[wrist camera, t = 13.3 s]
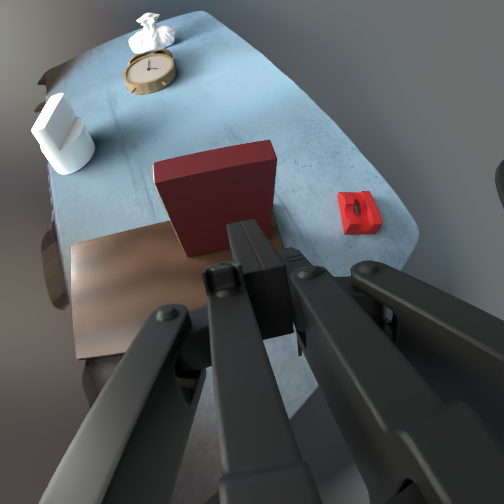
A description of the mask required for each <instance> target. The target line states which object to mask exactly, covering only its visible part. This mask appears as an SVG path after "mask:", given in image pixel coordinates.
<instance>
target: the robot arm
mask: <svg viewBox="0 0 504 504" xmlns="http://www.w3.org/2000/svg"><path fill="white" fill-rule="evenodd" d="M226 226H227V232H228V237H229V242H230V248H231V253H232V258H233V260H230V261H223V262H218V263H215V264H212V265H210V266H208V267H206V268H205V269H204V270H203V271H202V277H203V281H204V285H205V289H206V293H207V302H206V303H205V304H204V305H202V306H201V307H199V308H197V309H194V310H192V311H189V312H188V309H187V307H186V306H185V305H182V304H165V305H164V306H163V305H162V306H160V307H159V308H157V309H156V310H154V311H153V312H152V313H151V314H150V315H149V316H148V318H147V319H146V321H145V322H144V324H143V326H142V327H141V329H140V330H139V332H138V333H137V335H136V336H135V338H134V340H133V341H132V343H131V344H130V346H129V347H128V349H127V351H126V352H125V354H124V355H123V357H122V359H121V360H120V362H119V363H118V365H117V367H116V368H115V370H114V371H113V373H112V375H111V376H110V378H109V380H108V381H107V383H106V385H105V386H104V388H103V389H102V391H101V393H100V394H99V396H98V398H97V399H96V401H95V403H94V405H93V406H92V408H91V410H90V411H89V413H88V415H87V416H86V418H85V420H84V422H83V423H82V425H81V427H80V429H79V430H78V432H77V434H76V436H75V437H74V439H73V441H72V443H71V444H70V446H69V448H68V450H67V452H66V453H65V455H64V457H63V459H62V461H61V463H60V464H59V466H58V468H57V470H56V472H55V474H54V476H53V477H52V479H51V481H50V483H49V485H48V487H47V489H46V491H45V493H44V494H43V496H42V498H41V500H40V502H39V504H169V503H170V500H171V496H172V493H173V489H174V486H175V482H176V478H177V475H178V471H179V468H180V464H181V461H182V457H183V454H184V450H185V447H186V443H187V440H188V437H189V433H190V430H191V426H192V423H193V419H194V416H195V412H196V409H197V405H198V402H199V399H200V395H201V392H202V388H203V385H204V381H205V378H206V368H207V367H210V366H212V372H213V383H214V394H215V405H216V415H217V424H218V434H219V443H220V451H221V460H222V468H223V477H222V478H220V479H219V495H220V503H221V504H323V503H322V501H321V498H320V495H319V492H318V490H317V487H316V484H315V481H314V479H313V476H312V473H311V471H310V468H309V466H308V464H307V462H306V461H304V460H303V459H302V457H301V454H300V451H299V448H298V445H297V443H296V439H295V436H294V434H293V430H292V427H291V424H290V422H289V419H288V416H287V413H286V410H285V407H284V404H283V401H282V398H281V395H280V391H279V388H278V385H277V382H276V379H275V376H274V373H273V370H272V367H271V364H270V361H269V358H268V355H267V352H266V349H265V346H264V343H263V340H265V339H269V338H273V337H278V336H282V335H286V334H291V333H294V329H293V323H294V325H295V327H296V333H297V343H298V353H299V356H302V351H303V353H304V355H305V357H306V359H307V361H308V364H309V366H310V368H311V370H312V372H313V374H314V376H315V378H316V380H317V383H318V385H319V387H320V389H321V391H322V393H323V395H324V397H325V400H326V402H327V404H328V406H329V408H330V410H331V412H332V414H333V416H334V419H335V421H336V423H337V425H338V427H339V429H340V431H341V434H342V436H343V438H344V440H345V442H346V444H347V446H348V448H349V451H350V453H351V455H352V457H353V459H354V461H355V463H356V465H357V467H358V470H359V472H360V474H361V476H362V478H363V480H364V482H365V484H366V487H367V489H368V493H369V498H370V504H504V321H503V320H501V319H499V318H497V317H495V316H493V315H491V314H489V313H487V312H485V311H483V310H481V309H479V308H477V307H475V306H473V305H471V304H469V303H467V302H465V301H463V300H460V299H458V298H456V297H454V296H452V295H450V294H448V293H446V292H444V291H442V290H440V289H437V288H435V287H433V286H431V285H429V284H427V283H425V282H422V281H420V280H418V279H416V278H414V277H412V276H410V275H407V274H405V273H403V272H401V271H399V270H396V269H394V268H392V267H390V266H388V265H385V264H383V263H380V262H375V261H371V260H370V261H362V262H360V263H357V264H355V265H353V266H352V268H351V276H347V277H333V276H332V275H331V274H330V273H329V272H328V270H326V269H325V268H323V267H320V266H312V265H311V263H310V262H309V261H308V260H307V259H306V258H305V256H304V255H303V254H302V253H301V252H300V251H299V250H297V249H295V248H292V247H290V248H285V249H280V250H275V248H274V247H273V245H272V244H271V242H270V241H269V239H268V238H267V236H266V235H265V233H264V232H263V231H262V229H261V228H260V226H259V225H258V223H257V222H256V220H255V219H251V220H246V221H241V222H235V223H230V224H226ZM387 307H388V308H390V309H391V310H392V311H393V318H392V321H391V320H389V319H387V318H386V311H387Z"/></svg>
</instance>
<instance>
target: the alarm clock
mask: <svg viewBox="0 0 504 504" xmlns="http://www.w3.org/2000/svg"><path fill="white" fill-rule="evenodd" d="M152 53H154V54H152ZM148 54H150V55H148ZM175 76H176V70H175V66H174V61H173V56H172V53H171V52H170V51H169V50H167V49H159V50H158V49H156V50H150V51H147V52H144V53H142V54H137V55H134V56H133V57H132V58H131V59H130V61H129V66H128V67H127V68H126V69H125V71H124V74H123V77H124V80H125V83H126V85H127V89H128V90H129V91H130V92H131V93H134V94H141V95H143V94H151V93H154V92H157V91H159V90H161V89H163V88H165V87H167V86H168V85H169V84H170V83H171V82H172V81H173V80H174V78H175Z"/></svg>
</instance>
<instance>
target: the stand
mask: <svg viewBox="0 0 504 504" xmlns="http://www.w3.org/2000/svg"><path fill="white" fill-rule="evenodd" d="M269 241H270V242H271V244H272V245H273V247H274V248H275V250H280V249H284V248H283V245H282V241H281V238H280V235H279V232H278V228H277V225H276V222H275V219H274V215H273V212H272V220H271V230H270V240H269ZM230 260H233V258H232V253H231V248H228V249H224V250H219V251H214V252H210V253H205V254H200V255H196V256H191V257H187V256H186V254H185V252H184V250H183V248H182V246H181V244H180V241H179V239H178V237H177V235H176V233H175V230H174V228H173V226H172V224H171V221H166V222H161V223H157V224H153V225H149V226H144V227H140V228H136V229H132V230H128V231H124V232H120V233H116V234H112V235H108V236H104V237H100V238H96V239H92V240H88V241H84V242H81V243H77V244H73V245H72V257H71V284H72V313H73V328H74V341H75V351H76V359H78V360H84V359H92V358H100V357H107V356H114V355H121V354H125V352H126V351H127V349H128V347H129V346H130V344H131V343H132V341H133V340H134V338H135V336H136V335H137V333H138V332H139V330H140V329H141V327H142V326H143V324H144V322H145V321H146V319H147V318H148V316H149V315H150V314H151V313H152V312H153V311H154V310H156V309H157V308H159V307H160V306H162V305H163V306H164V305H165V304H182V305H185V306H186V307H187V309H188V312H189V311H192V310H194V309H197V308H199V307H201V306H202V305H204V304H205V303H206V302H207V293H206V289H205V285H204V281H203V277H202V271H203V270H204V269H205V268H206V267H208V266H210V265H212V264H215V263H218V262H223V261H230Z"/></svg>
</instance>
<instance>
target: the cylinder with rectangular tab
mask: <svg viewBox="0 0 504 504" xmlns="http://www.w3.org/2000/svg"><path fill="white" fill-rule="evenodd" d="M31 131H32V133H33V134H34V136H35V137H36V139H37V140H38V142H39V143H40V145H41V150H42V152H43V153H44V155H45V156H46V157H47V159H48V160H49V162H50V163H51V164H52V166H53V167H54V169H55V170H56V171H57V172H58V173H59V174H62V175H67V174H71V173H74V172H76V171H78V170H80V169H81V168H82V167H84V166H85V165H86V164H87V163H88V162H89V160H90V159H91V158H92V156H93V154H94V151H95V144H94V142H93V140H92V138H91V136H90V134H89V133H88V131H87V129H86V127H85V125H84V123H83V121H82V119H80V118H79V117H76V116H75V114H74V112H73V110H72V108H71V106H70V104H69V102H68V100H67V98H66V96H65V94H64V93H61V94H57V95H54V96H51V97H50V99H49V100H48V102H47V104H46V105H45V107H44V109H43V110H42V112H41V114H40V116H39V117H38V119H37V121H36V123H35V125H34V126H33V128H32V130H31Z"/></svg>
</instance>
